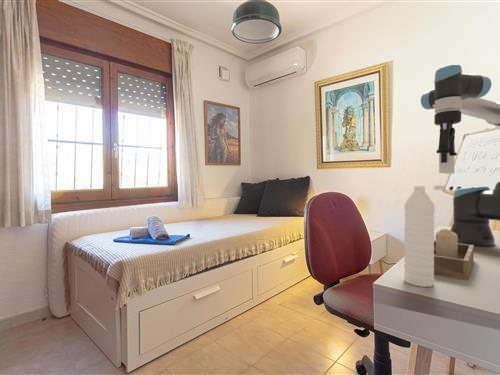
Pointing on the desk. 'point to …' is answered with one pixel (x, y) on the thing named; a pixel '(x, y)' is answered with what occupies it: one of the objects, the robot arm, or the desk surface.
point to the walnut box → (455, 262)
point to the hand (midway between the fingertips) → (447, 173)
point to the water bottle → (419, 238)
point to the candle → (447, 244)
